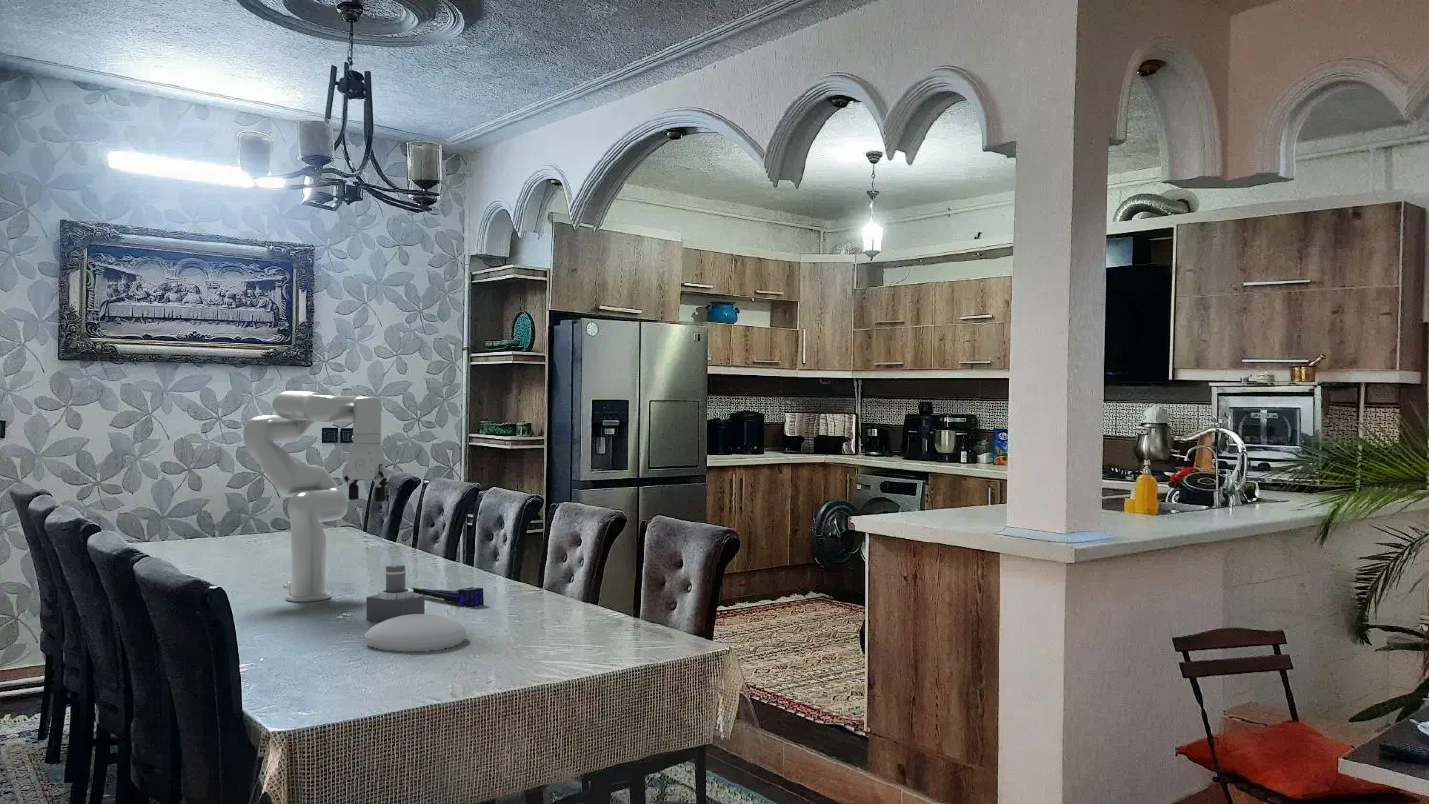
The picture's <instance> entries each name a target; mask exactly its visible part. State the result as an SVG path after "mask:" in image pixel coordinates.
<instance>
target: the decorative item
mask: <svg viewBox="0 0 1429 804" xmlns="http://www.w3.org/2000/svg"><path fill="white" fill-rule="evenodd" d="M466 635H467V629H466V628H465V626H463V625H462V624H461V623H460V622H458V621H457V620H454V619H452V618H448V617H446V616H443V615H437V614H429V613H424V614H410V615H403V616H398V617H394V618H391V619H388V620H385V621H383V622H381V621H380V622H378V623H377V624H375V625H373V626H371V628H369V629H368V630H367V631H366V632H365V634H364V639H365V642H366V643H367V645H368V646H369V647H370V646H371V647H370V648H372V647H374V648H373V649H376V648H379V649H378V650H382V649H387V650H386V651H390V650H396V651H395V652H400V651H425V652H428V651H427V650H436V651H438V650H437V649H443V650H445V649H444V648H447V649H450V648H449V647H451V648H453V647H452V646H454V647H456V646H455V645H457V646H458V644H459V645H461V644H462V643H463V642H464V641H465V638H466ZM460 643H461V644H460Z"/></svg>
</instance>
